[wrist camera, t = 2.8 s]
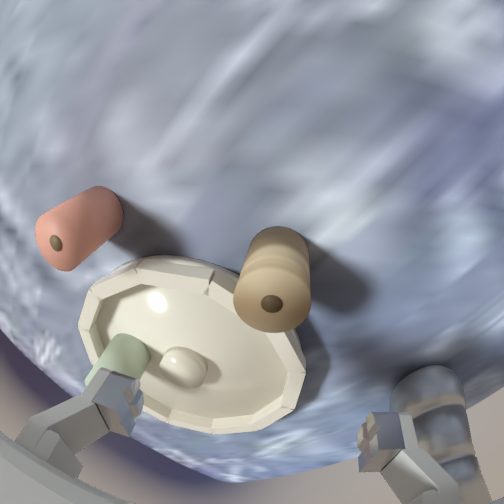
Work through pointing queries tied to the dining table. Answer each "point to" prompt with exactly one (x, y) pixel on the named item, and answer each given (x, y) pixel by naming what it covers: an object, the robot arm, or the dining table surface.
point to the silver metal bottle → (442, 426)
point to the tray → (195, 345)
